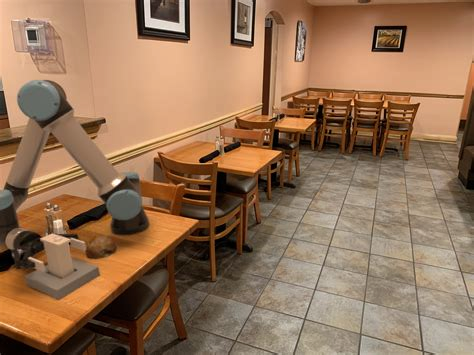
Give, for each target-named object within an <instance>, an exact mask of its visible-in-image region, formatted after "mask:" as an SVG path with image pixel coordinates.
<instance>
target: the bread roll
mask: <svg viewBox="0 0 474 355" xmlns="http://www.w3.org/2000/svg"><path fill="white" fill-rule="evenodd" d="M85 245H86V250H85V254H86V256H88V257H89V258H90V259H91V258H92V259H102V258H107V257H109V256H110V255H112V254H113V253H114V252H115V251H116V250H117V243H116V242H115V240H114V239H113V238H111V237H110V236H107V235H101V234H99V235H95V236H93V237H92V238H90V239H89V240H88V241H87V244H85Z"/></svg>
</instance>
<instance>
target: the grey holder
mask: <svg viewBox="0 0 474 355" xmlns="http://www.w3.org/2000/svg"><path fill="white" fill-rule="evenodd" d="M71 259H72V264H73V269H74V272H73V273H72V274H70V275H68V276H66V277H64V278H63V279H60V278H58V277H55V276H53V275H50V270H49V265H48V264H46V265H44V266H45V271H44V272H42V271H40V270H37V269H35V270H34V271H32V272H30V273H28V274H26V275H24V279H25V284H26V285H27V287H30V288H32V289H35V290H37V291H39V292H42V293H44V294H45V295H49V296H50V297H52V298H55V299H56V300H61V299H62V298H64V297H66V296H68V295H69V294H70V293H73V292H74V291H76V290H78V289H80V287H83V286H84V285H86V284H88V283H89V282H91V281H92V280H94V279H96V278H98V277H99V276H101V275H100V269H99V266H97V265H95V264H92V263H89V262H86V261H83V260H80V259H77V258H74V257H72V256H71Z"/></svg>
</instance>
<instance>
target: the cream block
mask: <svg viewBox="0 0 474 355" xmlns="http://www.w3.org/2000/svg"><path fill="white" fill-rule="evenodd" d="M51 233H52V234H51ZM51 233H49V234H48V235H46V236H44V237H43V236H42V237H43V238H40V241H42V242H44V247H45V249H44V251H45V255H46V260H47V265H49V270H50V275H53V276H55V277H58V278H60V279H63V278H64V277H66V276H68V275H70V274H72V273H73V272H74V269H73V264H72V259H71V257H72V253H71V249H70V245H69V242H71V239H68V238H65V237H62V236H59V235H56V234H57V233H54V234H53V232H51Z"/></svg>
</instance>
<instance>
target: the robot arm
mask: <svg viewBox="0 0 474 355" xmlns="http://www.w3.org/2000/svg"><path fill="white" fill-rule="evenodd" d="M16 102H17V106H18V108H19V110H20V111H21V113H22V114H23V115H25V116H26V117H27V118H28V120H27V124H26V126H25V129H24V132H23V135H22V137H21V140H20V143H19V146H18V148H17V150H16V153H15V156H14V159H13V162H12V164H11V166H10V167H11V168H10V170H9V173H8V176H7V178H6V181H5V184H4V186H3V189H0V247H3V248H6V249H8V250H11V256H12V259H13V260H14V265H15V268H16V270H21V269H22V268H24V270H25V271H27V270H29V269H35V270H40V271H42V272H44V271H45V266H46V265H45V263H44V261H42V260H39V259H36V258H34V256H35V255H36V253H40V252H41V251H45V247H44V242H42V241H40V238H43V236H41V234H39V233H37V232H35V231H31V230H29V229H26V228H23V227H20V223H19V218H18V214H17V210H18V209H19V208H20V207H21V205H22V204H23V203H24V202H25V201H26V200H27V198H28V197H29V190H30V187H31V183H32V181H33V178H34V175H35V173H36V170H37V167H38V165H39V163H40V159H41V157H42V154H43V152H44V149H45V146H46V144H47V142H48V139H49V136H50V134H52V135H53V136H54V137H55V139H56V140H57V142H59V143H60V144H61V145H62V147H63V148H64V149H65V151H66V152H67V153H68V154H69V156H70V157H71V158H72V159H73V160H74V162H75V163H76V164H77V165H78V166H79V167H80V168H81V170H82V171H83V172H84V173H85V174H86V176H87V177H88V179H90V180H91V181H92V182H93V184H94V185H95V186H96V187H97V189H98V190H97V196H98V197H99V198H100V199H101V200H102V202H103V203H104V205H106V211H107V212H108V214H109V215H110V216H111V220H110V231H111V232H112V234H114V235H119V236H129V235H135V234H138V233H142V232H143V231H145V230H147V229H148V228H149V227H150V221H149V220H150V219H149V218H148V216H147V214H146V211H145V210H144V207H143V206H144V205H143V199H142V198H143V197H142V191H141V189H142V188H141V182H140V174H139V173H138V172H135V171H126V172H118V170H116V168H115V167H114V166H113V164H112V163H111V162H110V161H109V159H108V158H107V157H106V155H105V154H104V153H103V152H102V151H101V149H100V148H99V147H98V145H97V144H96V143H95V142H94V141H93V140H92V138H91V137H90V135H89V134H88V133H87V132H86V130H85V129H84V128H83V126H82V125H81V124H80V123H79V121H77V119H76V118H75V117H74V114H75V109H74V108H73V106H72V105H71V104H70V102H68V100H67V94H66V91H65V90H64V88H63V87H62V86H61V85H60V84H59V83H57V82H55V81H53V80H50V79H34V80H33V79H32V80H30V81H28V82H26V83H24V84H23V85H22V86H21V87H20V88H19V90H18V92H17V96H16ZM52 233H53V232H51V233H50V234H52ZM53 234H56V235H59V236H62V237H65V238H68V239H71V242H69V246H70V247H71V248H73V249H74V248H75V249H77V250H81V251H85V250H86V245H87V244H86V242H85V241H84V240H82V239H79V235H78V233H53ZM85 252H86V251H85ZM21 255H22V256H23V257H22V259H21Z"/></svg>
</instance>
